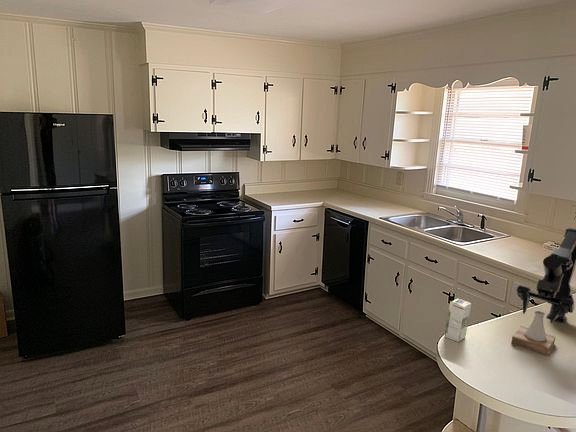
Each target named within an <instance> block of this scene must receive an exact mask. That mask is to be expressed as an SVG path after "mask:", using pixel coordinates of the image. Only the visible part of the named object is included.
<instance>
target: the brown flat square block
mask: <svg viewBox="0 0 576 432" xmlns="http://www.w3.org/2000/svg"><path fill="white" fill-rule="evenodd" d="M528 328H529V327H525V326H524V325H523V326H522V325H520V327H518V328H517V330H516V331H515V332H514V333H513V335H512V336H511V337H512V338H511V342H510V343H511V344H512V345H513V344H514V346H517V347H519V346H520V348H522V347H523V349H525V348H526V349H525V350H528V349H529V350H528V351H531V352H534V353H536V354H541V355H543V356H546V357H547V356H549V354H550V352H551V350H552V349H551V348H553V347H554V346H555V341H556V336H554V335H551V334H547V333H545V334H546V338H547V339H546V340H545V341H540V342H537V341H534V340H531V339H529V338H527V337H526V336H525V335H524V334H525V332H526V331H527V329H528Z"/></svg>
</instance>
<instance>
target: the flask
mask: <svg viewBox="0 0 576 432" xmlns="http://www.w3.org/2000/svg"><path fill="white" fill-rule="evenodd" d="M545 315H546V314H545V312H543V311H541V310H536V311H534V318H533V320H532V322H531V324H530V325H529V326H528V327H527V328H528V329H527V331H526V332H525V334H524V335H525V336H526V337H527V338H529V339H531V340H534V341H537V342H540V341H545V340H546V339H547V338H546V334H547V333H546V330H545V325H544V316H545Z"/></svg>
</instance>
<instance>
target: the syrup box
mask: <svg viewBox="0 0 576 432" xmlns="http://www.w3.org/2000/svg"><path fill="white" fill-rule="evenodd" d="M471 307H472V303H471V302H469V301H466V300H463V299H460V298H455V299H454V300H452V301H450V303H449V307H448V312H447V319H446V326H445V331H444V337H445V338H446V339H449V340H452V341H454V342H457V343H459V342H461V341H462V340H464V339H465V338H466V335H467V329H468V324H469V318H470V313H471V312H470V311H471Z"/></svg>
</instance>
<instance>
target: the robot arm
mask: <svg viewBox="0 0 576 432" xmlns="http://www.w3.org/2000/svg"><path fill="white" fill-rule="evenodd" d="M563 237H564V238H563V239H562V242H561V244H560V246H559V247H558V248H557V249H554V250H553V251H552V252H551V254H549V255H548V256H547V257H545V258H544V259H543V260H542V264H543V271H544V273H545V274H544V275H543V279H538V282H537V283H536V292H535V291H531V287H530V286H525V285H523V284H520V285H518V286H517V288H516V294H517V297H518V298H520V300H522V313H523V315H525V314H526V312H527V309H528V306H529V302H530V298H535V299H538V300H542V301H545V302H546V303H547V304H550V310H549V313H548V314H547V315H546V318H547V319H550V323H551V324H552V323H554V322H555V321H557V322H561V323H565V321H566V320H567V318H568V317H567V316H566V314H569V313H571V314H572V313H574V310H575V301H574V295H573V290H572V287H571V284H572V283H571V282H572V279H573V275H574V272H575V267H576V228H573V227H568V228H565V231H564V236H563Z"/></svg>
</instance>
